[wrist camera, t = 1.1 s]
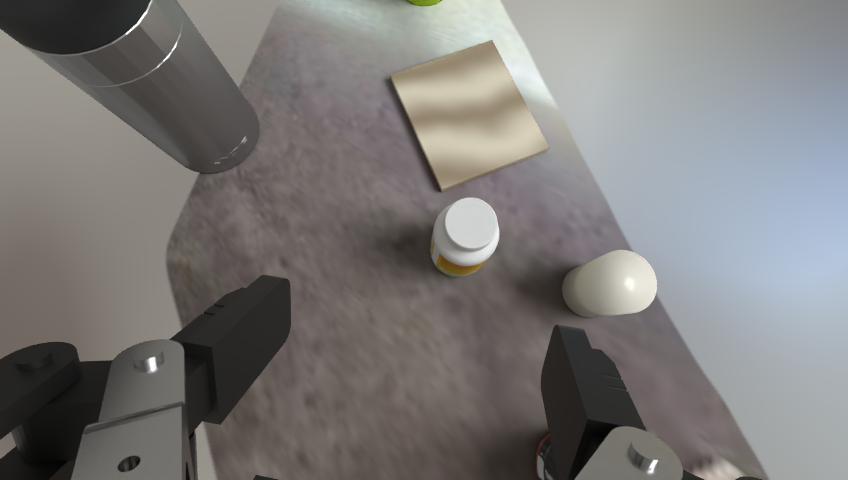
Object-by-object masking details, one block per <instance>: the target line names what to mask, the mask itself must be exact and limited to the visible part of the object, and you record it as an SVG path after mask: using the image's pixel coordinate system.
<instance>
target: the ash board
mask: <svg viewBox="0 0 848 480" xmlns="http://www.w3.org/2000/svg"><path fill="white" fill-rule="evenodd" d="M390 78H391V82H392V84H393V86H394V88H395V90H396V93H397V95H398V97H399V99H400V101H401V104H402V106H403V108H404V110H405V113H406V115H407V117H408V119H409V121H410V124H411V126H412V128H413V130H414V132H415V135H416V137H417V139H418V141H419V144H420V146H421V148H422V150H423V152H424V155H425V157H426V159H427V161H428V164H429V166H430V168H431V170H432V172H433V175H434V177H435V179H436V181H437V183H438V186H439V188H440V190H441V192H443V191H446V190H448V189H451V188H454V187H456V186H459V185H461V184H464V183H467V182H469V181H472V180H474V179H477V178H480V177H482V176H485V175H487V174H490V173H493V172H495V171H498V170H500V169H503V168H506V167H508V166H511V165H513V164H516V163H518V162H521V161H524V160H526V159H529V158H531V157H534V156H537V155H539V154H542V153H544V152H547V151H548V149H549V146H548V144H547V142H546V141H545V139H544V137H543V135H542V133H541V131H540V129H539V127H538V126H537V124H536V122H535V120H534V118H533V116H532V114H531V112H530V111H529V109H528V107H527V105H526V103H525V101H524V99H523V97H522V96H521V94H520V92H519V90H518V88H517V86H516V84H515V82H514V80H513V79H512V77H511V75H510V73H509V71H508V69H507V67H506V65H505V64H504V62H503V60H502V58H501V56H500V54H499V52H498V50H497V49H496V47H495V45H494V43H493V41H492V40H491V41H488V42H485V43H482V44H479V45H476V46H473V47H470V48H467V49H464V50H461V51H459V52H456V53H453V54H450V55H447V56H444V57H441V58H438V59H435V60H432V61H429V62H427V63H424V64H421V65H418V66H415V67H412V68H409V69H406V70H403V71H400V72H397V73H395V74H392V75H390Z"/></svg>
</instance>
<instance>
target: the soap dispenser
mask: <svg viewBox="0 0 848 480" xmlns="http://www.w3.org/2000/svg"><path fill="white" fill-rule="evenodd" d="M408 1H409V2H411V3H413V4H416V5H420V6H430V5H434V4H437V3H439V2H440V1H442V0H408Z"/></svg>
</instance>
